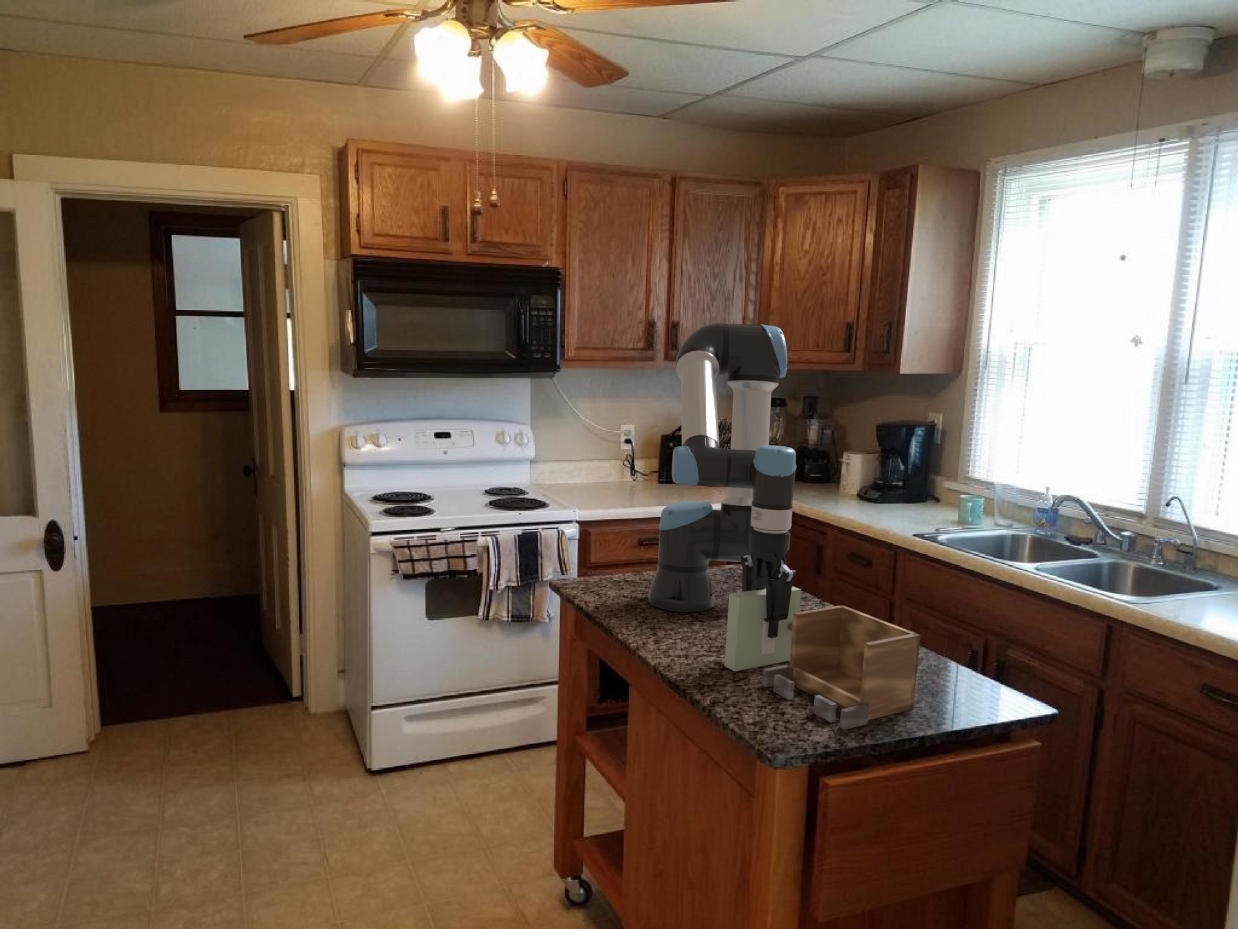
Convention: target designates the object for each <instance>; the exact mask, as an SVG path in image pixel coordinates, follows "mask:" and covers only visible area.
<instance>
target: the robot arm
mask: <svg viewBox="0 0 1238 929" xmlns="http://www.w3.org/2000/svg"><path fill="white" fill-rule="evenodd" d="M787 350H788V349H787V343H786V339H785V335H784V333H783V330H782V329H781V328H779V327H778V326H773V325H768V324H767V325H766V324H762V323H761V324H754V323H753V324H749V323H747V324H746V323H723V322H714V323H713V322H712V323H708V324H705V325H703V326H700V327H698V329H696V330H694V331H693V332H692V333H690V335H689V336H687V337H686V339H685V340H684V341H683V343H682V344H681V346H680V347H679V350H678V352H677V356H676V360H675V361H676V362H675V371H676V375H677V377H678V378H679V379H680V403H681V404H680V406H681V408H680V409H681V412H680V413H681V414H680V415H681V446H676V447H674V449H673V451H672V464H671V467H672V468H671V479H672V481H673V483H675V485H676V484H677V485H683V486H690V487H696V486H697V487H716V488H717V487H720V488H723V487H725V488H728V492H727V496H726V497H725V498H724V499H723V500H721V503H720V505H721V506H720V509H713V505H712V503H710V502H707V501H697V500H696V501H694V500H693V501H684V502H683V501H681V502H677V503H672V504H669V505H667V506H665V507H663V509H662V511H661V514H660V521H659V526H658V530H659V537H658V538H659V540H658V554H657V555H658V556H657V567H656V569H657V570H656V572H655V573H654V574H655V575H654V577H653V579H652V582H651V586H650V588H649V589H648V597H647V598H648V603H649V604H650V605H652V607H655V608H658V609H660V610H665V611H669V612H678V613H680V612H681V613H697V612H704V611H709V610H710V609H712V608H713V607H714V604H715V603H714V602H715V594H714V589H713V586H712V582H711V579H710V575H709V563H710V562H709V561H714V562H715V561H717V562H718V561H720V562H736V563H738V562H740V563H741V569H742V570H741V571H742V572H741V577H742V578H741V580H742V581H741V585H742V586H741V592H746V591H753V590H761V589H766V606H767V618H764V621H763V634H762V648H761V653H762V654H770V653H775V642H776V637H777V636H778V625H779V621H780V620H786V619H787V618H788V612H789V605H790V598H791V591H792V586H793V583H794V580H795V579H796V577H797V576H796V575H797V572H796V571H797V570H796V569H792V570H791V569H790V568H789V567H788V565H787V559H786V554H787V552H788V551H789V550H790V547H791V546H790V544H791V543H790V542H791V532H790V531H789V530H790V529H791V528H792V518H793V517H792V515H793V502H794V490H795V489H794V488H795V478H796V470H797V463H796V461H797V460H796V459H797V457H796V456H797V453H796V451H795V449H793V448H792V447H788V446H784V445H772V444H771V445H770V428H771V427H770V426H771V425H770V424H771V404H772V402H771V401H772V392H774V390H775V389H776V388H777V387H778V386H779V381H780V379H782V378H785V376H786V374H787V370H788V368H787V365H788V351H787ZM718 375H723V376H727V382H726V384H727V385H728V386H729V387H730V388H731V389H732V392H733V394H732V396H733V397H732V414H731V416H732V419H731V437H730V448H720V437H719V436H720V432H719V416H718V401H717V399H718V398H717V384H716V383H717V382H716V378H718Z"/></svg>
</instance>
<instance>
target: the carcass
mask: <svg viewBox="0 0 1238 929" xmlns="http://www.w3.org/2000/svg"><path fill="white" fill-rule="evenodd" d="M920 641H921V634H919V633H916V632H914V631H911V630H908V629H907V628H906V629H905V628H903V627H900V626H898V625H895V624H893V623H890V622H887V621H885V620H882V619H879V618H877V617H874V616H871V615H869V614H867V613H864V612H861V611H859V610H856V609H854V608H850V607H848V606H846V605H842V604H841V605H835V606H829V607H828V606H827V607H823V608H816V609H810V610H803V611H799V612H796V613H793V626H792V639H791V652H790V661H789V665H787V664H784V665H779V666H773V667H770V668H769V667H768V668H764V669H763V671H762V672H763V673H762V684H761V685H762V686H763V687H765V688H771V687H773V691H772V692H774V693H775V694H777V695H779V696H781V697H782V698H785V699H786V700H788V701H790V700H793V699H794V694H795V688H797V689H800V690H801V691H804V692H805V693H807V694H810V695H811V696H813V697H814V701H813V714H814V715H815V716H818V717H819V718H822V719H823V720H824V721H827V722H829V723H833V722H836V716H837V709H838V710H840V719H839V729H842V730H845V731H846V730H849V729H853V728H858V727H861V726H864V725H865V726H866V725H868V722H869V721H870V720H874V719H878V718H881V717H886V716H889V715H893V714H898V713H902V712H906V711H910V710H913V709H914V704H915V694H916V685H917V673H918V666H919V665H918V662H919V654H920V653H919V652H920V645H921V644H920V643H921V642H920Z"/></svg>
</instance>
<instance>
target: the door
mask: <svg viewBox="0 0 1238 929" xmlns="http://www.w3.org/2000/svg"><path fill="white" fill-rule="evenodd" d="M801 592H802V589H801V588H798V587H795V586H793V585H792V591H791V598H790V605H789V612H788V618H787V619H786V620H780V621H779V625H778V636H777V637H776V642H775V653H770V654H762V653H761V648H762V634H763V621H764V618H767V606H766V588H765V589H761V590H753V591H746V592H742V591H741V592H733V593H732V592H731V593H729V594H728V608H727V610H728V611H727V623H726V624H727V625H726V637H725V638H726V639H725V652H724V654H725V656H724V667H725V668H727V669H729V670H731V671H733V672H739V671H745V670H749V669H755V668H760V667H764V666H770V665H774V664H779V663H784V662H790V652H791V639H792V626H793V613H796V612H800V610H801V609H800V607H801V606H800V605H801V596H802V595H801V594H802V593H801Z"/></svg>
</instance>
